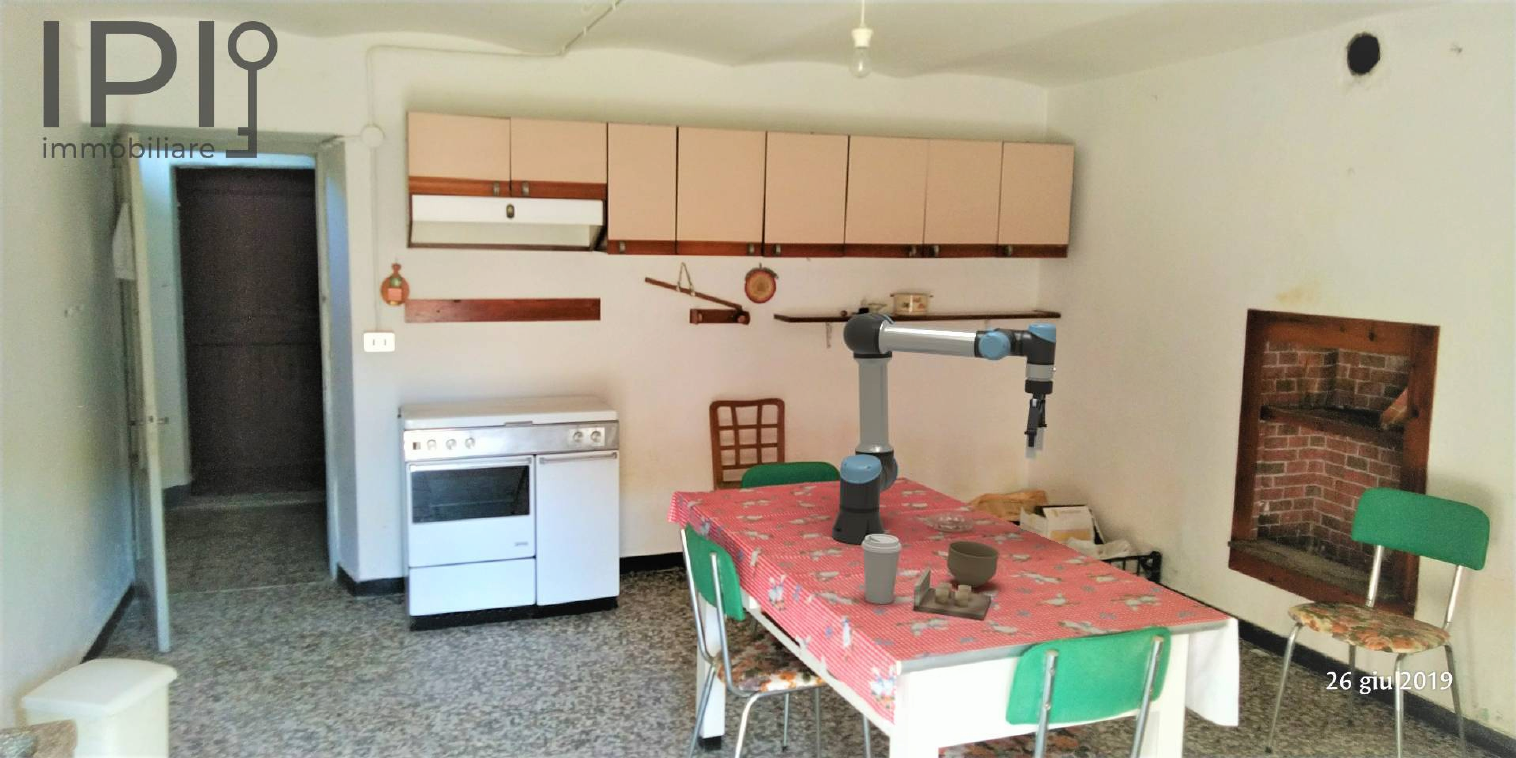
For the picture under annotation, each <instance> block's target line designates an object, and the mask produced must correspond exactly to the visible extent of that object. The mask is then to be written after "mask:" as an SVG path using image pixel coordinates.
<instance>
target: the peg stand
mask: <svg viewBox="0 0 1516 758" xmlns="http://www.w3.org/2000/svg"><path fill="white" fill-rule="evenodd" d="M931 571H932V569H931V568H927V567H925V569H924V570H923V572H922V573H921V575H920V576H919V578H918V579H917V581H916V582H915V584H914V585H913V586H914V587H913V588H914V589H913V606H912V611H915V612H921V613H922V612H923V613H929V614H930V613H931V614H936V615H937V614H938V615H944V616H948V617H949V616H951V617H957V618H963V619H964V618H965V619H972V620H976V621H977V620H978V621H984V619H985V617H986V615H987V612H988V610H989V607H990V604H991V602H992V596H991V595H984V594H983V595H982V594H976V593H972V588H971V586H968V585H961V584H959V585H958V589H957V590H956V591H954V590H952V587H953V584H952V583H951V582H945V581H942V582H939V583H938V588H934V587H933V588H932V587H930V586H931Z"/></svg>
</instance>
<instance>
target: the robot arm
mask: <svg viewBox="0 0 1516 758" xmlns="http://www.w3.org/2000/svg"><path fill="white" fill-rule="evenodd" d="M842 331H843V332H842V336H843V337H842V338H843V340H844V343H845V345H846V347H847V348H848V349H849V350H850V351H852V358H853V360H854V361H855V362H856V363H857V365H858V401H859V402H858V405H859V407H858V408H859V412H858V413H859V444H858V445H857V446H856V447H855V449H854V454H855V455H849V456H846V457H845V458H843V460H842V461H841V464H840V468H839V498H838V499H839V500H838V502H839V504H838V505H839V506H838V507H839V509H838V512H837V515H836V517H835V521H834V524H833V526H832V530H831V532H832V533H831V537H832V538H833V539H834V540H836V541H838V542H842V543H846V544H851V545H862V542H863V541H864V539H865V537H866V536H868V535H871V534H885V528H884V525H883V522H882V517H881V513H880V504H881V493H883V492H885V491H887V490H889V489H890V488H891V487H892V486H893V485H894V483H895V482H896V480H897V478H898V476H899V465H898V464H899V463H898V461H897V460H896V458H895V448H894V447H893V446H892V444H891V443H890V442H889V440H890V439H889V438H890V437H889V436H890V435H889V383H888V382H889V381H888V379H889V378H888V373H889V372H888V365H889V362H890V361H891V360H892V359H893V352H899V353H915V354H927V355H928V354H929V355H936V356H937V355H941V356H952V357H953V356H955V357H966V358H976V359H977V358H978V359H986V360H989V361H999V360H1000V361H1001V360H1002V359H1004V358H1006V357H1007V356H1008V357H1022V358H1023V357H1025V358H1026V363H1025V378H1026V379H1025V380H1024V392H1025V393H1027V394H1032V397H1031V398H1030V399H1029V402H1028V403H1029V409H1028V416H1027V423H1026V424H1027V425H1026V430H1024V431H1023V434H1024V435H1026V443H1025V455H1024V456H1025V458H1024V459H1031V460H1036V459H1037V451H1041V452H1042V451H1043V448H1044V447H1043V446H1044V433H1045V428H1047V427H1048V424H1047V423H1046V403H1047V401H1046V397H1047V395H1048V396H1049V395H1052V393H1053V388H1054V381H1053V380H1052V379H1054V373H1056V371H1057V369H1056V368H1055V360H1056V359H1055V357H1056V350H1057V349H1056V347H1057V328H1056V326H1055V325H1054V324H1051V323H1036V322H1035V323H1033V322H1032V323H1030V324H1029V325H1028V328H1027V329H1014V328H1013V329H1012V328H1000V327H994V328H993V327H989V328H986V329H985V330H982V329H981V330H978V329H964V328H954V327H953V328H950V327H937V326H921V325H909V324H906V325H905V324H895V323H894V321H893V320H892V319H891V318H890V317H889V316H888V315H886V314H883V313H880V312H876V311H875V312H874V311H873V312H867V313H861V314H856V315H854V316H852V317H851V318H850V319H849V320H848V321H847V322H846V323H845V325H844V327H843V330H842Z"/></svg>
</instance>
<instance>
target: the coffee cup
mask: <svg viewBox="0 0 1516 758" xmlns="http://www.w3.org/2000/svg"><path fill="white" fill-rule="evenodd" d="M899 539H900V538H898V536H894V535H891V534H885V533H884V534H871V535H868V536H866V537H865V539H864V541H863V542H862V544H860V547H861V548H862V549H863V550H862V551H863V569H864V570H863V572H864V574H863V575H864V593H865V601H867V602H869V603H871V604H876V605H887V604H891V603H893V600H894V597H895V596H894V595H895V594H894V593H895V587H896V580H897V572H898V564H899V557H900V551H902V550H903V547H902V545H901V542H900V540H899Z"/></svg>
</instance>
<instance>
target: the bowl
mask: <svg viewBox="0 0 1516 758" xmlns="http://www.w3.org/2000/svg"><path fill="white" fill-rule="evenodd" d="M999 556H1000V551H999V550H998V549H997V548H996V547H994V546H992V545H989V544H987V543H983V542H979V541H973V540H955V541H951V542H949V543H948V553H947V560H946V567H947V570H948V571H949V573H950V574H951V575H952V576H953V577H954V578H955V579H956V580H957V582H958V583H959V585H968V586H971V589H972V588H974V589H975V588H979V587H980V586H981V585H983V584H985V583H987V582H989V581H990V580H991V579H992V578H993V577H994V576H996V573H997V567H998V560H999Z"/></svg>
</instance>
